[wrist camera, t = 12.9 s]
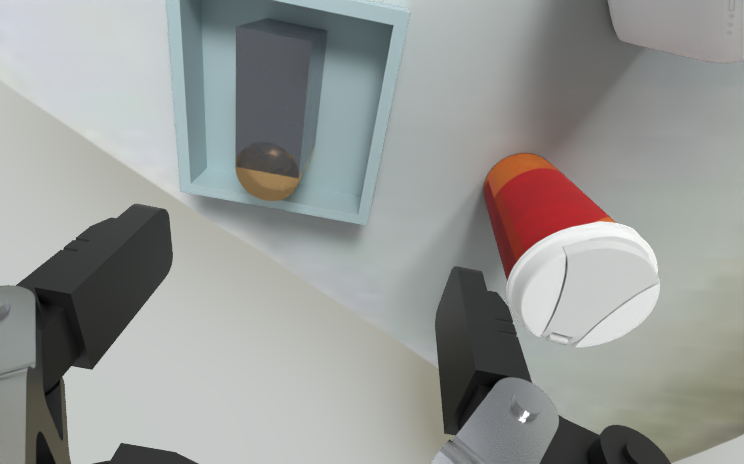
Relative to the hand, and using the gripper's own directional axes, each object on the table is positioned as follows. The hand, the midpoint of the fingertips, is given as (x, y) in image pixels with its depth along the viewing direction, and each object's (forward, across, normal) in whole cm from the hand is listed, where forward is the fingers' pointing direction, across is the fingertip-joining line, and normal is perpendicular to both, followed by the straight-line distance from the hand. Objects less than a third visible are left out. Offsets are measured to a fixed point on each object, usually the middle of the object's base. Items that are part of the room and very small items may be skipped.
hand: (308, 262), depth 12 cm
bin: (+21, +5, +2) cm, 22 cm away
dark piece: (+20, +5, +1) cm, 21 cm away
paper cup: (+22, -13, +5) cm, 26 cm away
